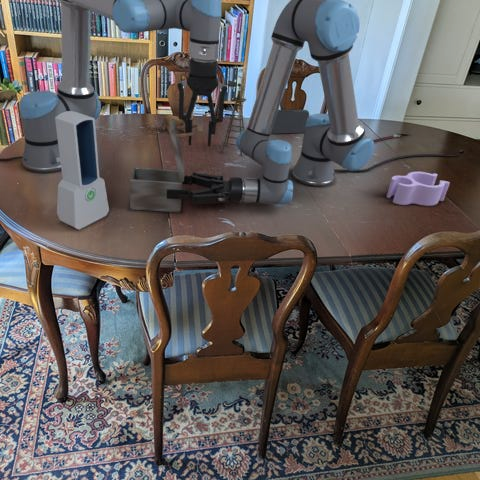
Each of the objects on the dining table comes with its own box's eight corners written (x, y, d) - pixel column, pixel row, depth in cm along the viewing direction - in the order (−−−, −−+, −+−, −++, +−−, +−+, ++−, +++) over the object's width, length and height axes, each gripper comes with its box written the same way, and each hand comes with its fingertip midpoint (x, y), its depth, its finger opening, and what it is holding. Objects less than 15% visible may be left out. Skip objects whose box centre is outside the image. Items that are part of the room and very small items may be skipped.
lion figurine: (191, 128, 201) (192, 107, 196) (194, 132, 197) (195, 111, 192) (157, 129, 196) (157, 108, 192) (160, 134, 192) (160, 112, 187)
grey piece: (169, 130, 126) (201, 126, 126) (171, 119, 134) (201, 115, 134) (180, 182, 135) (210, 178, 135) (181, 169, 142) (210, 165, 142)
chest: (130, 209, 139) (129, 180, 133) (133, 195, 146) (133, 167, 141) (180, 212, 140) (182, 183, 135) (181, 198, 148) (183, 170, 143)
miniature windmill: (241, 156, 181) (249, 76, 164) (220, 152, 182) (226, 73, 165) (246, 147, 188) (254, 71, 172) (225, 144, 189) (231, 68, 173)
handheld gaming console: (303, 130, 212) (307, 109, 207) (306, 132, 210) (310, 111, 205) (256, 132, 205) (259, 109, 200) (259, 134, 203) (261, 111, 197)
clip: (400, 208, 156) (406, 189, 152) (379, 191, 165) (384, 173, 162) (448, 203, 162) (455, 186, 158) (425, 187, 172) (431, 170, 168)
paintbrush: (406, 132, 223) (406, 130, 222) (411, 134, 221) (412, 132, 220) (362, 144, 207) (363, 141, 206) (368, 146, 205) (368, 143, 204)
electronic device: (76, 231, 126) (63, 124, 110) (57, 222, 129) (42, 116, 113) (110, 214, 135) (103, 112, 119) (91, 206, 138) (82, 105, 122)
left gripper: (168, 59, 117) (167, 147, 130) (238, 65, 119) (231, 150, 132) (169, 53, 123) (168, 137, 136) (236, 58, 125) (229, 141, 138)
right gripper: (243, 218, 136) (165, 215, 133) (238, 185, 154) (169, 181, 151) (246, 195, 132) (165, 191, 129) (240, 164, 150) (169, 160, 147)
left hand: (199, 143), depth 134 cm, fingers open, 5 cm apart
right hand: (167, 186), depth 140 cm, fingers closed on chest, 9 cm apart
